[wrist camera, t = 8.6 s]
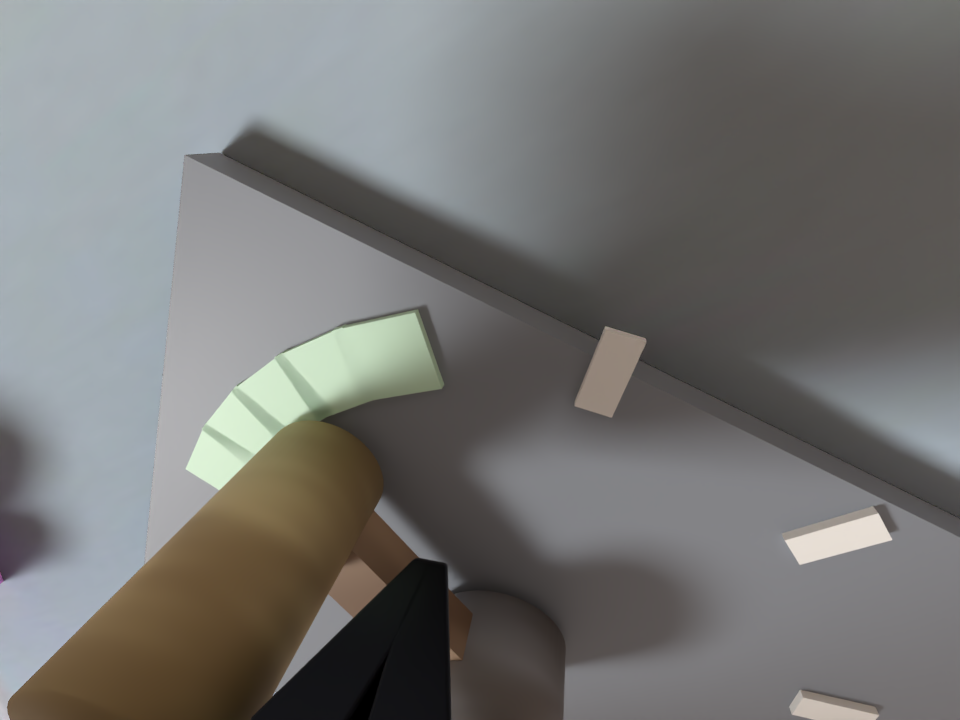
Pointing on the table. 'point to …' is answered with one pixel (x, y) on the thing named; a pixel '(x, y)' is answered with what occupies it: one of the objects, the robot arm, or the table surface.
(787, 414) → the table surface
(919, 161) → the table surface
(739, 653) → the dial board
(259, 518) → the peg lever
